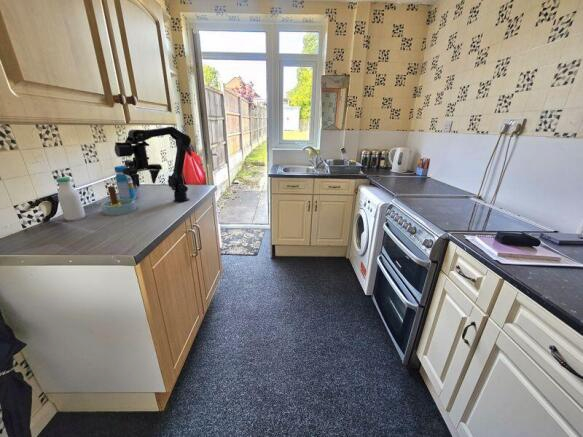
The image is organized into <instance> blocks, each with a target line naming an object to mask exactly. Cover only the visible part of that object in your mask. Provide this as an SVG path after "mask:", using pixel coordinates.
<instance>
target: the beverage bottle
mask: <svg viewBox="0 0 583 437" xmlns="http://www.w3.org/2000/svg"><path fill="white" fill-rule="evenodd" d="M123 168H128V167H126V166H125V165H118V166H117V165H116V166H114V173H115V177H114V178H115V180H116V182H115V184H116V186H117V191H118V196H119V199H133V200H136V198H137V195H136V191H135V187H134V181H133V179H132V178H131V177H130V176H129V175H126V174H123V171H122V170H123Z"/></svg>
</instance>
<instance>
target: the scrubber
mask: <svg viewBox="0 0 583 437" xmlns="http://www.w3.org/2000/svg"><path fill="white" fill-rule="evenodd" d="M107 190H108V194H109V198H110V200H111V202H112V204H110V206H121V204H120V203H118V199H119V198H118V196H117V192H116V187H115V186H114V185H111V186H107Z"/></svg>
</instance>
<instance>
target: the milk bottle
mask: <svg viewBox="0 0 583 437" xmlns="http://www.w3.org/2000/svg"><path fill="white" fill-rule="evenodd" d="M56 182H57V184H58V190H57V199H58V202H59V205H60V209H61V211H62V214H63V218H64V220H65V221H76V220H80V219H84V218H85V217H86V212H85V209H84V206H83V203H82V200H81V196H80V194H79V192H78V190H76V188H74V186H73V185H72V182H71V178H70V177H67V176H64V177H63V176H62V177H57V178H56Z"/></svg>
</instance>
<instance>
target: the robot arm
mask: <svg viewBox="0 0 583 437" xmlns="http://www.w3.org/2000/svg"><path fill="white" fill-rule="evenodd" d="M127 135H128V136H127V137H126V139H125V141H124V142H119V141H116V142H114V149H113V150H114V153H115V155H116V157H117V158H125V157H132V156H133V157H132V160H130V159H127V160H124V166H126V167H128V168H123V170H122V171H123V174H126V175H129V176H130V177H131V179H132V181H133V183H134V185H136V187H137V188H140V174H139V172H143V171H148V172H149V173H150V178H151V182H152V184H156V181H157V178H158V176H159V174H160V172H161V170H163V166H162V165H161V164H160V163H149V160H150V157H149V156H148V154H147V149H146V147H149V146H150V144H149V143H148V142H147V140H150V139H151V138H157V137H162V136H167V135H169V136H170V137H171V138H172V139H173V140H174V141H175V146H176V154H175V160H174V165H173V172H172V174H171V175H168V176H167V178H168V179H167V184H168V187H169V188H170V189H171V190H172V191H173V193H174V194H173V197H174V199H173V202H177V203H184V202H187V201H189V200H190V198H188V194H187V192H188V189H189V187H188V186H187V185H185V184H184V177H183V172H184V165H185V159H186V155H187V154H186V153H187V151H188V149H189V148H190V146H191V143H192V142H191V141H192V138H191V137H190V136H189V135H188V134H185V133H184V132H182V131H180V130H179V129H177V128H176V127H174V126H166V127H158V128H152V129H129V131H128V132H127Z"/></svg>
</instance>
